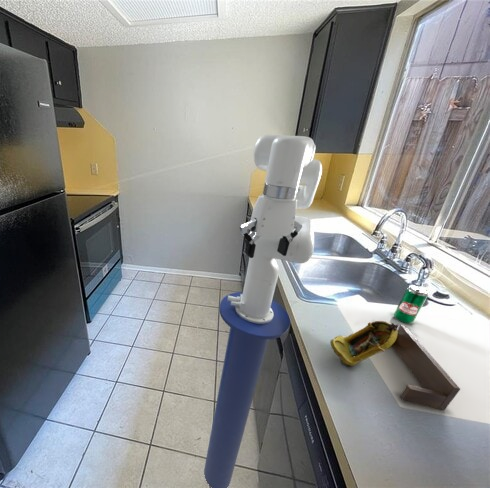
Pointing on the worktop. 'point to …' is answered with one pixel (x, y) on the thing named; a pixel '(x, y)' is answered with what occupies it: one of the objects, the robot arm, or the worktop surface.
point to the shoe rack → (424, 373)
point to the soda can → (410, 304)
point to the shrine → (365, 342)
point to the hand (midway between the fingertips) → (265, 254)
